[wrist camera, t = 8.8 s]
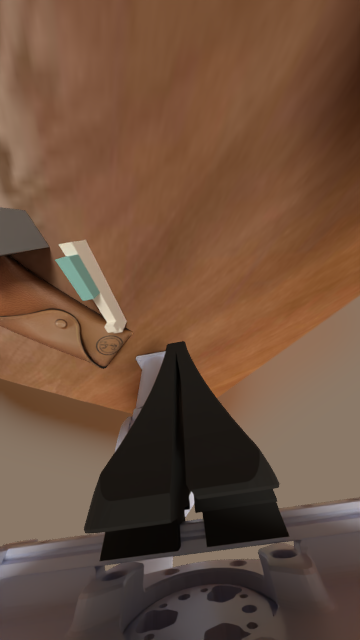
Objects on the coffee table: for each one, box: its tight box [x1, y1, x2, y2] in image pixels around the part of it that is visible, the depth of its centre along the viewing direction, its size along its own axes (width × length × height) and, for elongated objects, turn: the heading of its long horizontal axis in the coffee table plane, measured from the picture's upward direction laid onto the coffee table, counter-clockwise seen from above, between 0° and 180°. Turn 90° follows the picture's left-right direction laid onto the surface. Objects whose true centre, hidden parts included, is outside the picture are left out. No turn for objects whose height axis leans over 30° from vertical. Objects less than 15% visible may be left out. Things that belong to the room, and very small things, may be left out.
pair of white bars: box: [56, 240, 127, 333], centre depth 15 cm, size 11×23×4 cm, turn 99°
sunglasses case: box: [0, 255, 133, 369], centre depth 18 cm, size 18×7×7 cm
